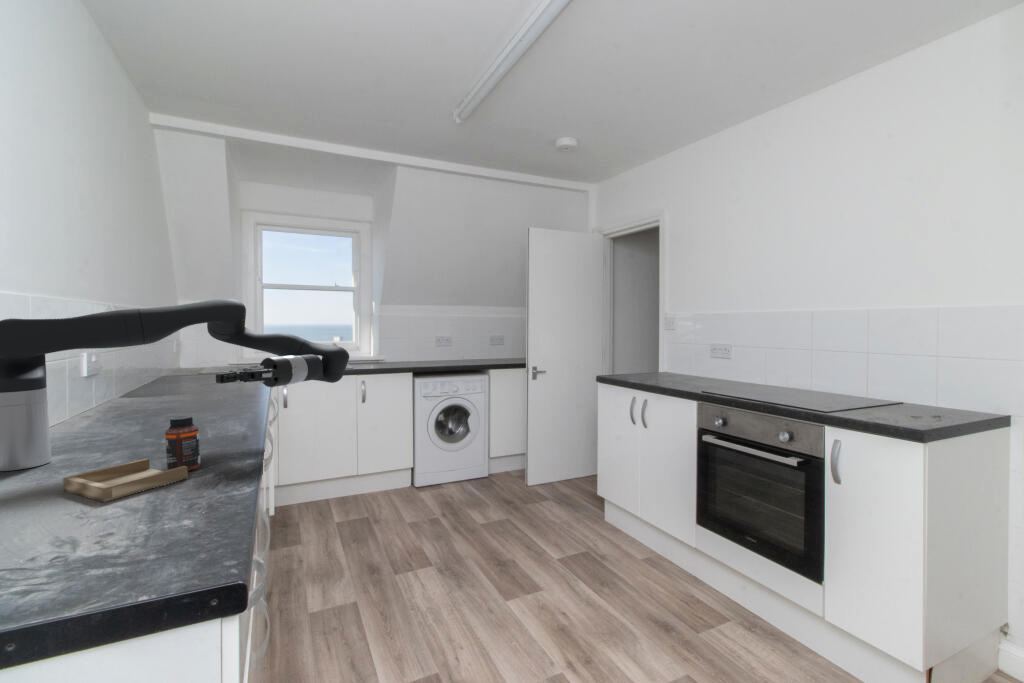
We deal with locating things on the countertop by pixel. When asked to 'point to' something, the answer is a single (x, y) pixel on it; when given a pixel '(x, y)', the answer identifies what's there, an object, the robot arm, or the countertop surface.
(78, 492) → the beech tray
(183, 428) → the supplement bottle
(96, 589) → the countertop surface
